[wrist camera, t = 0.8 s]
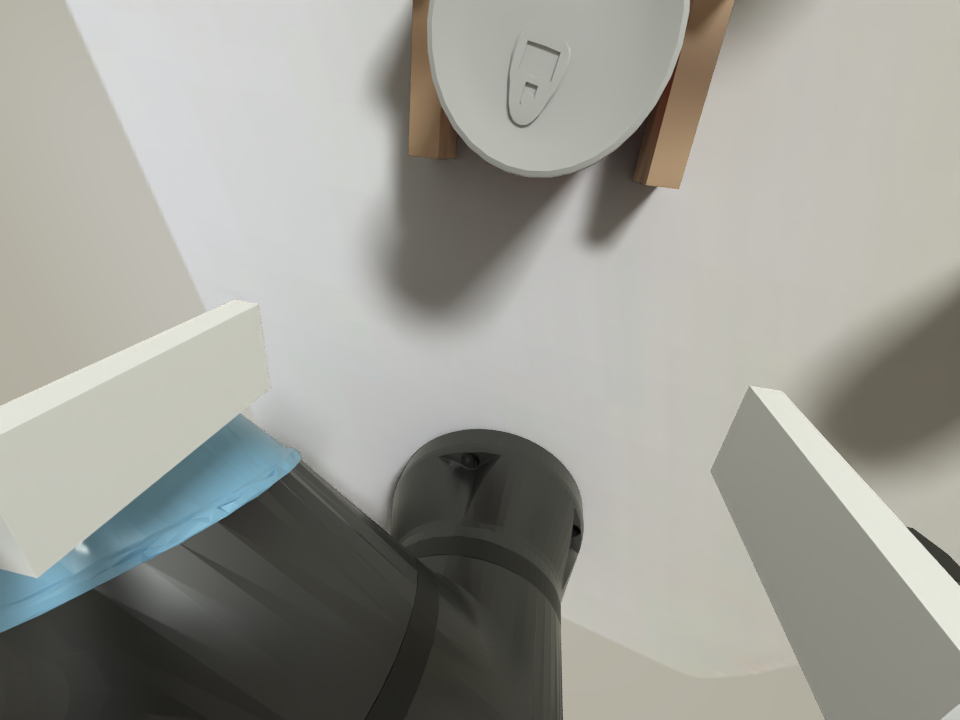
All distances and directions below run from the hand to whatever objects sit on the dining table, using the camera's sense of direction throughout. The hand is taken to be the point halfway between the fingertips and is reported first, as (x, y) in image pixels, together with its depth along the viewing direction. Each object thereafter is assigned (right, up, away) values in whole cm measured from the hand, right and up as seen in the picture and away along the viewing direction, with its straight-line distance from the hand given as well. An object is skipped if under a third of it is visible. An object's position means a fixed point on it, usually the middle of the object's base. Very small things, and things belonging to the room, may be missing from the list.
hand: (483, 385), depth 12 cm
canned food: (+4, +15, +11) cm, 19 cm away
